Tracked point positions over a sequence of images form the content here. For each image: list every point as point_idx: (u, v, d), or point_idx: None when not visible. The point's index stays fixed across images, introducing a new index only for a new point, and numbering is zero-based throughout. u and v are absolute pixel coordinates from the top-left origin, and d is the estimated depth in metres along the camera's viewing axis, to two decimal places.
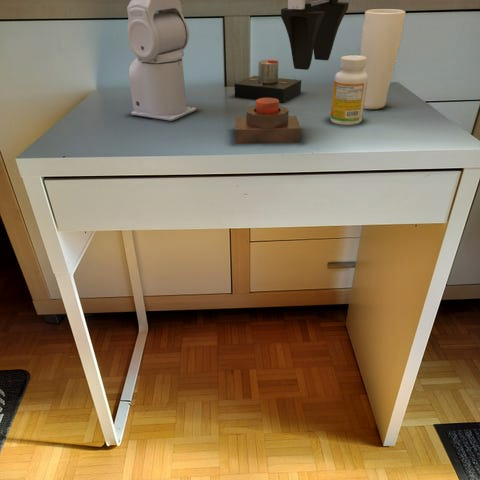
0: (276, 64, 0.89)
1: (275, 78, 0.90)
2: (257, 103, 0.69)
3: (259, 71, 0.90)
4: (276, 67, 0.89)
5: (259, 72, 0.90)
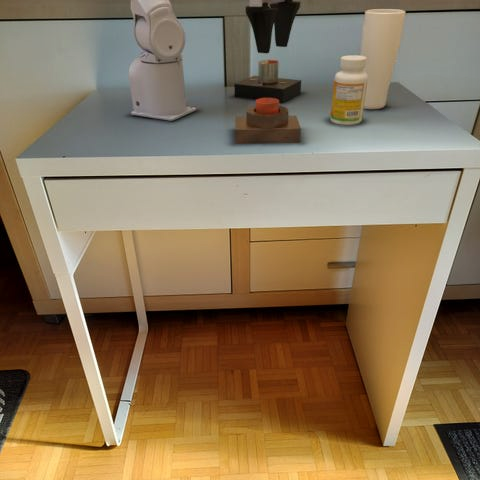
0: (276, 64, 0.89)
1: (275, 78, 0.90)
2: (257, 103, 0.69)
3: (259, 71, 0.90)
4: (276, 67, 0.89)
5: (259, 72, 0.90)
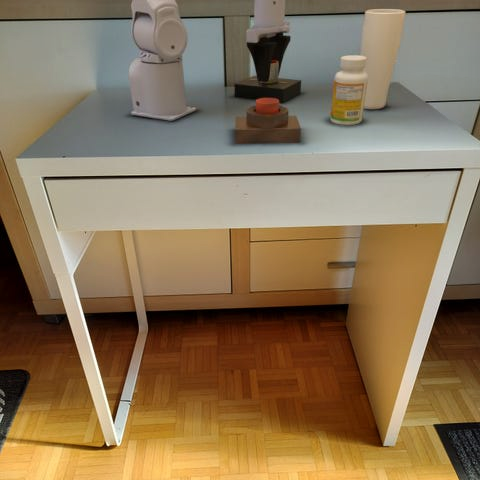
0: (276, 64, 0.89)
1: (275, 78, 0.90)
2: (257, 103, 0.69)
3: None
4: (276, 67, 0.89)
5: None
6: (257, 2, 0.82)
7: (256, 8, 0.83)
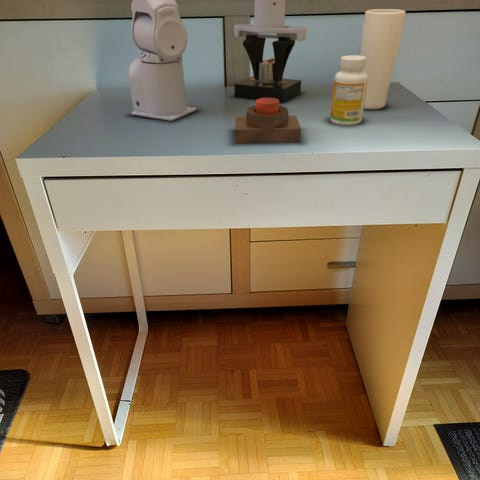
0: None
1: None
2: (257, 103, 0.69)
3: (272, 72, 0.89)
4: None
5: (272, 73, 0.90)
6: (279, 3, 0.82)
7: (277, 9, 0.82)
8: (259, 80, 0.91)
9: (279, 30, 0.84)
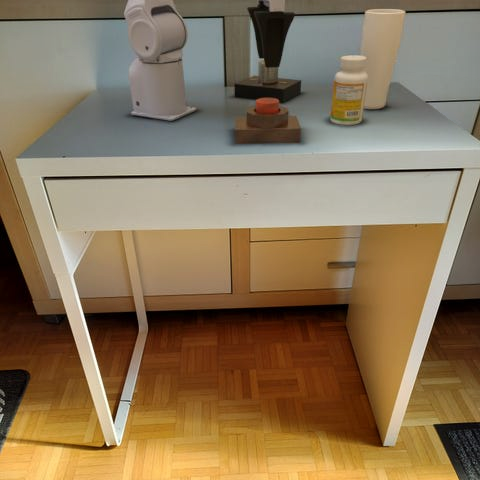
0: None
1: None
2: (257, 103, 0.69)
3: (272, 72, 0.89)
4: None
5: (272, 73, 0.90)
6: None
7: None
8: (259, 80, 0.91)
9: None
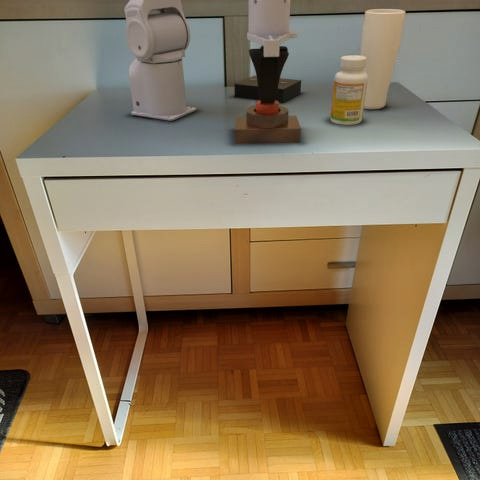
0: None
1: None
2: (257, 105, 0.69)
3: None
4: None
5: None
6: (261, 1, 0.60)
7: (259, 10, 0.60)
8: None
9: (254, 38, 0.62)
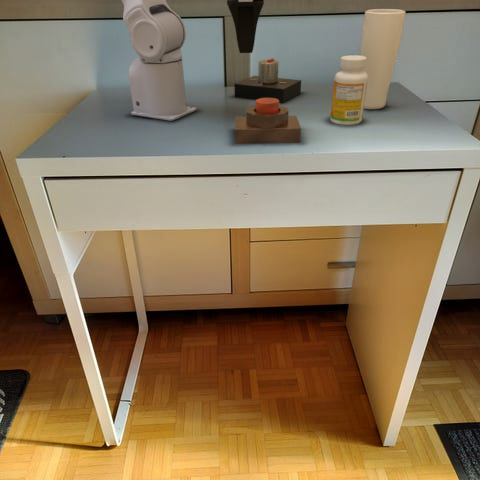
0: None
1: None
2: (257, 103, 0.69)
3: (272, 72, 0.89)
4: None
5: (272, 73, 0.90)
6: None
7: None
8: (259, 80, 0.91)
9: None
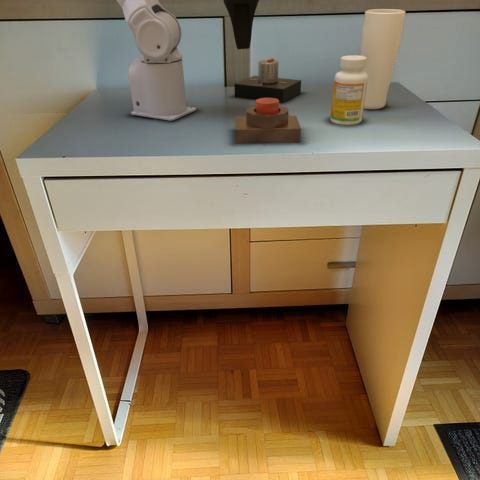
0: None
1: None
2: (257, 103, 0.69)
3: (272, 72, 0.89)
4: None
5: (272, 73, 0.90)
6: None
7: None
8: (259, 80, 0.91)
9: None
